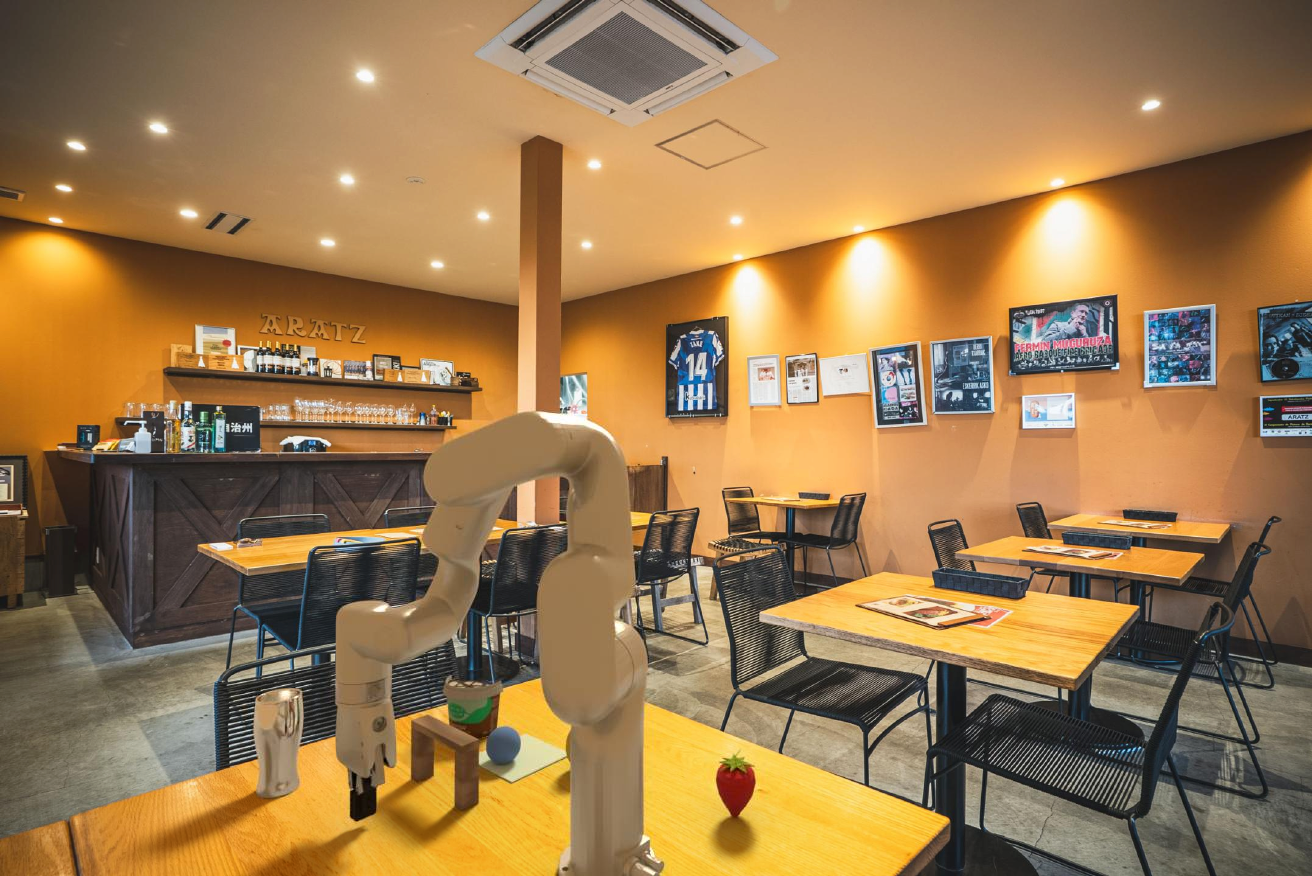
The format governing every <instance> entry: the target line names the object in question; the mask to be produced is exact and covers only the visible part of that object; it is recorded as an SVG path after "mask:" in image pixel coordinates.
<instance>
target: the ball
mask: <svg viewBox="0 0 1312 876" xmlns="http://www.w3.org/2000/svg"><path fill="white" fill-rule="evenodd" d="M520 736H521V735H520V734H519V733H518V731H517V730H516V729H514V728H513V727H512V726H508V725H507V726H506V725H504V726H503V725H502V726H499V727H497V729H495V730H494V731H493V732H492V733H491V734H490V735H489V736H488V737H487V739H486V742H485V750H486V752H487V755H488V757H489V758H490V759H491V760H492V761H493V762H495V763H498V764H506V763H509V762H511V761H512V760H513V759H515V757H516V756H517V755H518V753H519V751H520V747H521V739H520Z"/></svg>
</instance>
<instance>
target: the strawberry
mask: <svg viewBox="0 0 1312 876" xmlns="http://www.w3.org/2000/svg"><path fill="white" fill-rule="evenodd" d="M741 751H742V749H739V750H738V752H737V753H736V754H734V753H733V754H732V757H731V758H729V757H722V760H721V761H720V760H719V761H718V764H719V763H720V764H721V765H720V766H719V767H718V768H717V771H716V776H715V785H716V789H717V792H718V795H719V797H720V799H721V801H722V803H723V804H724V806H725V808H726V809H727V811H728V812H729V814H730V816H731V817H733V818H738V817H739V816H740V815H741V813H742V811H744V809H745V808H747V805H748V804H749V802H750V800H751V799H752V797H753V795H754V791H755V787H756V783H757V781H756V774H755V771H754V769H753V768H755V767H756V766H755V765H754V764H752V763H750V762H747V761H745V758H746V757H745V756H742V757H737V756H738V755H739V753H740V752H741ZM752 767H753V768H752Z"/></svg>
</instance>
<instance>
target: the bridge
mask: <svg viewBox="0 0 1312 876" xmlns="http://www.w3.org/2000/svg"><path fill="white" fill-rule="evenodd" d="M410 722H411V723H410V724H411V725H410V753H411V754H410V779H411V781H413V782H414V783H420V781H421V782H423V781H425V780H427V779H430V778H431V777H432V776H433V777H434V776H435V741H436V742H438V743H440V744H442V745H444V746H445V747H448V748H449V749H451V750H453V751H454V790H453V791H454V799H453V801H454V808H456V809H457V810H460V811H461V812H462V811H465V810H468V809H470V808H471V807H473V806H475V805H477V804H480V766H479V753H480V739H477V738H475V737H473V736H471V735H469V734H467V733H465V732H463V731H461V730H458V729H456V728H454V727H452V726H450V725H449V723H446V722H444V721H442V720H440V719H438V718H436V717H434V716H431V715H429V714H425V715H422V716H419V717H416V718H413V719H411V721H410Z"/></svg>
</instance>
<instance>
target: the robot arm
mask: <svg viewBox="0 0 1312 876" xmlns="http://www.w3.org/2000/svg"><path fill="white" fill-rule="evenodd" d="M422 477H423V485H424V490H425V491H426V493H427V494H428V496H429V497H430V499H431V500H432V501H434V502H435V503H436V504H435V506H434V508H433V510H432V512H431V514H430V517H429V518H428V521H427V523H426V525H425V527H424V529H423V531H422V534H421V540H422V543H423V545H424V547H425V548H426V549H427V551H429V552H430V553H431V554H432V555H434V556H435V557H437V558H438V565H437V569H436V572H435V574H434V577H433V579H432V581H431V584H430V585H429V587H428V589H427V591H426V594H425V595H424V596H423V598H420V599H417V600H415V601H412V602H409V603H406V604H403V605H401V606H398V607H395V608H392V607H391V605H390V604H389V603H388V602H385V601H381V600H360V601H356V602H355V601H354V602H351V603H348V604H346V605H343V606H342V607H340V609H338V611H337V613H336V615H335V616H336V617H335V618H336V619H335V686H334V687H335V688H334V689H335V701H334V704H335V705H336V706H337V711H336V720H335V721H336V722H335V723H336V725H335V756H336V759H337V760H338V762H339V763H341V765H343V766H345V768H346V769H347V770H346V771H347V782H348V787H349V788H348V789H349V818H350V819H352V820H353V821H354V822H356V823H358V822H360V821H362V820H364V819H366V818H368V817H371V816H374V815H375V814H376V813H377V809H378V807H377V803H378V802H377V799H378V797H377V793H378V791H377V788H378V787H379V786H382V785H384V784H386V775H385V773H386V772H385V767H387V768H389V769H394V768H395V767H396V765H397V754H398V753H397V734H396V733H397V732H396V731H397V730H396V721H395V720H396V719H395V713H394V711H395V710H394V706H393V701H392V699H391V697H392V694H393V692H392V691H393V690H392V689H393V680H392V678H393V665H396V666H397V665H402V664H405V663H408V662H410V661H412V660H414V659H416V658H418V657H420V656H422V655H424V654H426V653H428V652H429V651H431V650H435V648H437V647H440V646H442V645H444V644H446V643H447V642H449V640H451V639H452V638H453V636H455V635H456V633H457V632H458V630H459V629H460V627H461V626H462V624H463V622H464V620H465V618H466V616H467V614H468V612H469V610H470V608H471V606H472V604H473V602H474V600H475V597H476V596H477V593H478V589H479V585H480V582H479V581H480V572H481V567H480V566H481V564H480V558H481V557H480V556H481V555H482V552H483V550H484V548H485V546H486V544H487V542H488V540H489V538H490V536H491V534H492V531H493V529H494V527H495V525H496V523H497V521H498V519H499V517H500V515H501V514H502V512H503V509H504V507H505V505H506V503H507V501H508V500H509V497H510V495H511V492H512V491H513V489H514V487H517V486H520V485H522V484H525V483H529V482H532V481H534V480H543V479H551V478H553V479H554V478H559V477H560V478H561V477H562V478H565V479H567V480H568V484H569V486H568V487H569V489H568V496H567V501H566V511H565V512H566V513H565V514H566V515H565V516H566V517H565V518H566V525H567V549H566V551H564V552H561V553H560V554H559V555H557V556H556V557H554V558H553V559H552V560H551V561H550V562H549V563H548V565H547V566H546V567H545V569H544V570H543V572H542V574H541V577H540V581H539V584H538V589H537V594H536V596H537V597H536V614H537V618H536V620H537V635H538V638H537V639H538V655H539V657H538V658H539V675H540V683H541V688H542V693H543V697H544V700H545V702H546V703H547V706H548V707H549V709H550V711H551V712H552V714H554V715H555V716H556V717H557V719H559V720H560V721H561V722H564V724H567V725H569V726H570V730H571V749H570V762H569V763H570V764H569V765H570V767H569V768H570V769H569V771H570V773H569V775H570V777H569V778H570V782H569V783H570V799H569V800H570V803H569V806H570V816H569V817H570V819H569V820H570V822H569V823H570V824H569V825H570V827H569V828H570V830H569V831H570V833H569V834H570V838H569V839H570V844H569V845H568V846H567V847H566V848H565V849H564V850H563V851H562V853H561V854H560V857H559V860H558V867H557V869H558V876H661V875H660V874H661V873H662V872H663V871H664V867H665V862H664V861H663V860H661V859H660V858H658V857H656V854H655V851H654V850H653V848H652V846H651V838H650V837H648V836H647V835H645V834H644V832H645V830H644V829H645V828H644V827H645V825H644V824H645V823H644V821H645V820H644V819H645V818H644V817H645V814H644V812H645V810H644V809H645V808H644V806H645V805H644V803H645V802H644V797H645V795H644V794H645V793H644V792H645V791H644V789H645V788H644V782H645V781H644V743H645V741H644V739H645V737H644V736H645V735H644V733H645V728H644V727H645V701H646V692H647V691H646V690H647V683H648V669H649V668H648V666H649V665H648V663H649V662H648V652H647V648H646V645H645V643H644V639H642V637H641V635H640V633H639V632H638V631H637V629H635V627H633V626H632V625H630V624H628V623H626V622H624V621H621V620H617V619H615V613H617V612H618V611H619V610H621V608H623V607H624V606H625V605H626V604H627V603H628V602H629V601H630V600H631V598H632V596H633V594H634V592H635V587H636V582H637V580H636V579H637V578H636V569H635V557H634V556H635V554H634V551H635V550H634V539H633V523H632V516H631V502H630V501H631V499H630V498H631V497H630V482H629V472H628V466H627V461H626V459H625V455H624V453H623V450H622V448H621V446H620V445H619V443H618V442H617V441H616V439H615V438H614V437H613V435H611V434H610V433H609V432H608V431H607V430H606V429H604V428H603V427H601V426H599V425H598V424H596V423H594V422H592V421H589V420H586V419H585V418H581V417H578V416H574V415H570V414H563V413H555V412H553V413H552V412H545V411H536V410H531V411H522V412H518V413H515V414H512V415H509V416H507V417H504V418H501V419H499V420H497V421H496V420H495V421H494V422H492V423H489V424H488V425H485V426H482V427H479V428H478V429H475V430H473V431H469V432H468V433H465V434H463V435H460V436H458V437H455V438H453V439H451V440H449V441H447V442H445V443H443V444H442V445H440V446H438V447H437V448H436V449H435V450H434V451H433V452H432V453H431V455H430V456H429V457H428V459H427V461H426V463H425V466H424V470H423V475H422Z"/></svg>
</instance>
